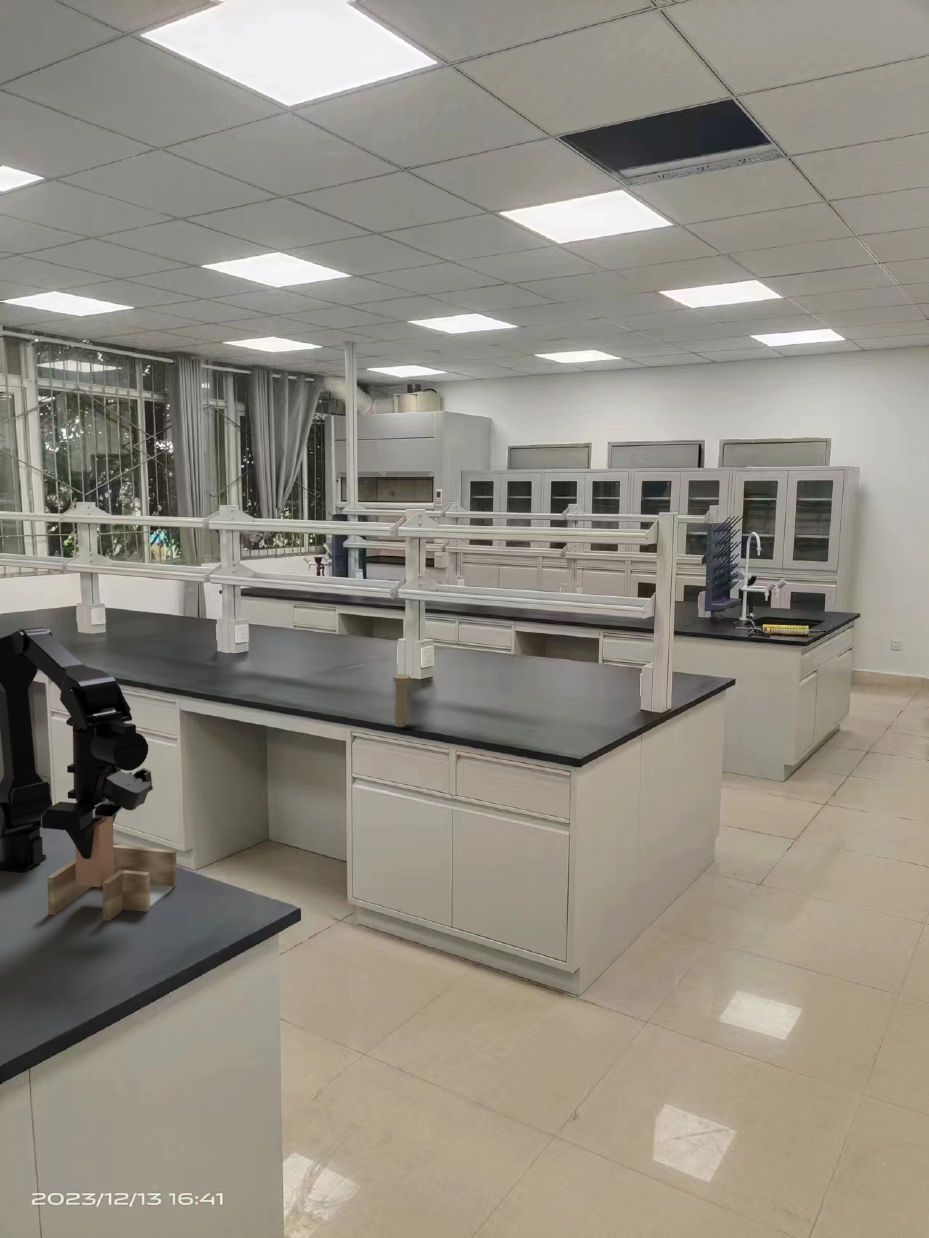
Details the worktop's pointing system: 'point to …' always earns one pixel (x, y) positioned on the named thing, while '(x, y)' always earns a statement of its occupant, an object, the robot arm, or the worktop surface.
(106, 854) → the peg
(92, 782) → the robot arm
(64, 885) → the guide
